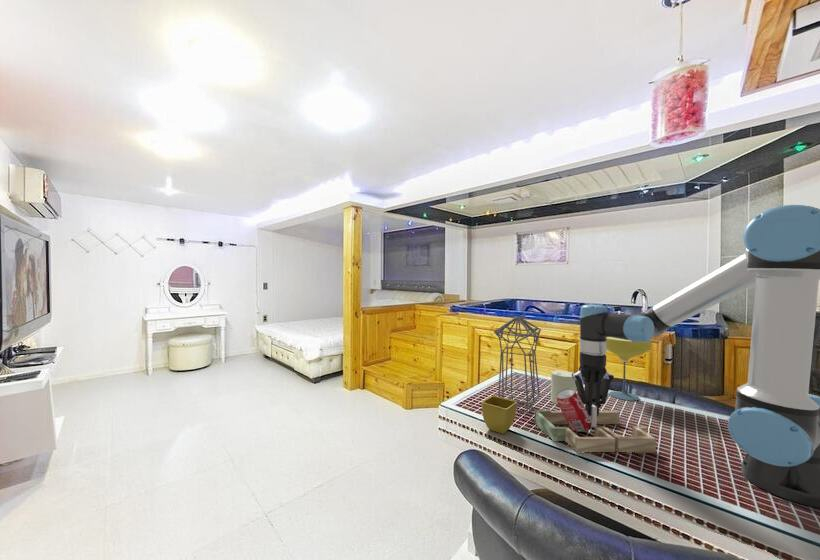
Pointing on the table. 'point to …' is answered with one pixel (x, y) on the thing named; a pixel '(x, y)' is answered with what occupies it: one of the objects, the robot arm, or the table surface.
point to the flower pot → (499, 413)
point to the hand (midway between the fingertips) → (591, 425)
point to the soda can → (573, 410)
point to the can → (561, 383)
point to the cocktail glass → (625, 352)
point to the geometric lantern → (498, 332)
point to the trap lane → (596, 434)
